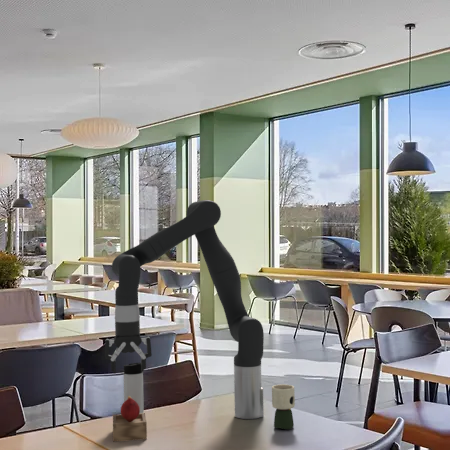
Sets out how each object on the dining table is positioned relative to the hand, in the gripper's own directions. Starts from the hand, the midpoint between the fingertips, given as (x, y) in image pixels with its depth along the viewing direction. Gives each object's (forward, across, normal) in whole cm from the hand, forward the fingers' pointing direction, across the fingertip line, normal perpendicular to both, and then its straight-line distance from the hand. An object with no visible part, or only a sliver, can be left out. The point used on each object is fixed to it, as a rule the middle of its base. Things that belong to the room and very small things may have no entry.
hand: (128, 371), depth 199 cm
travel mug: (+20, -2, -12) cm, 23 cm away
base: (+20, 0, 0) cm, 20 cm away
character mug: (+20, -48, +4) cm, 52 cm away
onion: (+16, 0, 0) cm, 16 cm away
